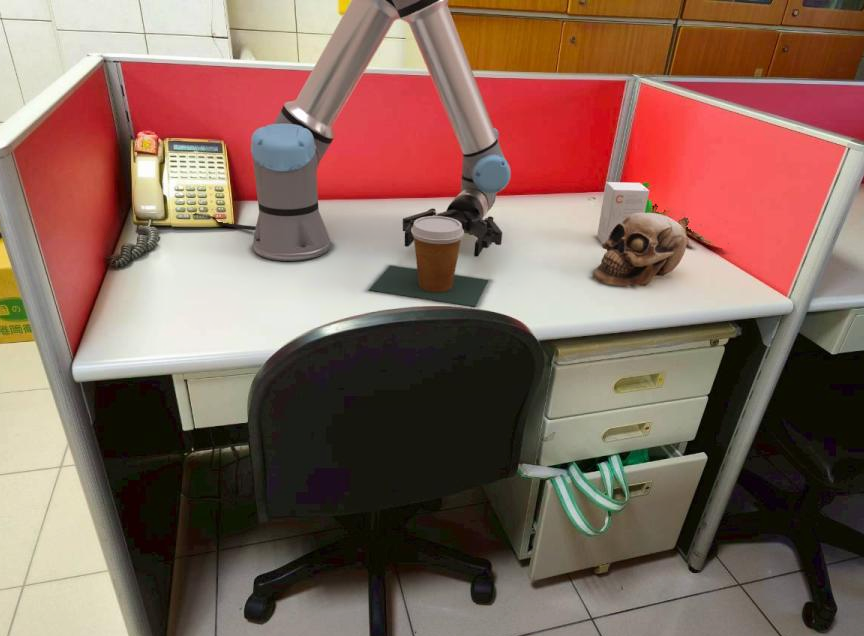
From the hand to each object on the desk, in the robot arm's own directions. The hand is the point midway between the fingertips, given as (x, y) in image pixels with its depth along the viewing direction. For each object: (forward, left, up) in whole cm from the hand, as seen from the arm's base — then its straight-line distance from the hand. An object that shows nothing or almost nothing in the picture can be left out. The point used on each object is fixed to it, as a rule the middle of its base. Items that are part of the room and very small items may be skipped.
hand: (441, 244), depth 117 cm
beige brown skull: (+37, +16, -7) cm, 41 cm away
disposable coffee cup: (0, -4, -7) cm, 8 cm away
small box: (+33, +34, -7) cm, 48 cm away
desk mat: (-1, -4, -7) cm, 8 cm away
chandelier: (+39, +62, -7) cm, 74 cm away
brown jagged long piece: (+51, +42, -7) cm, 67 cm away
